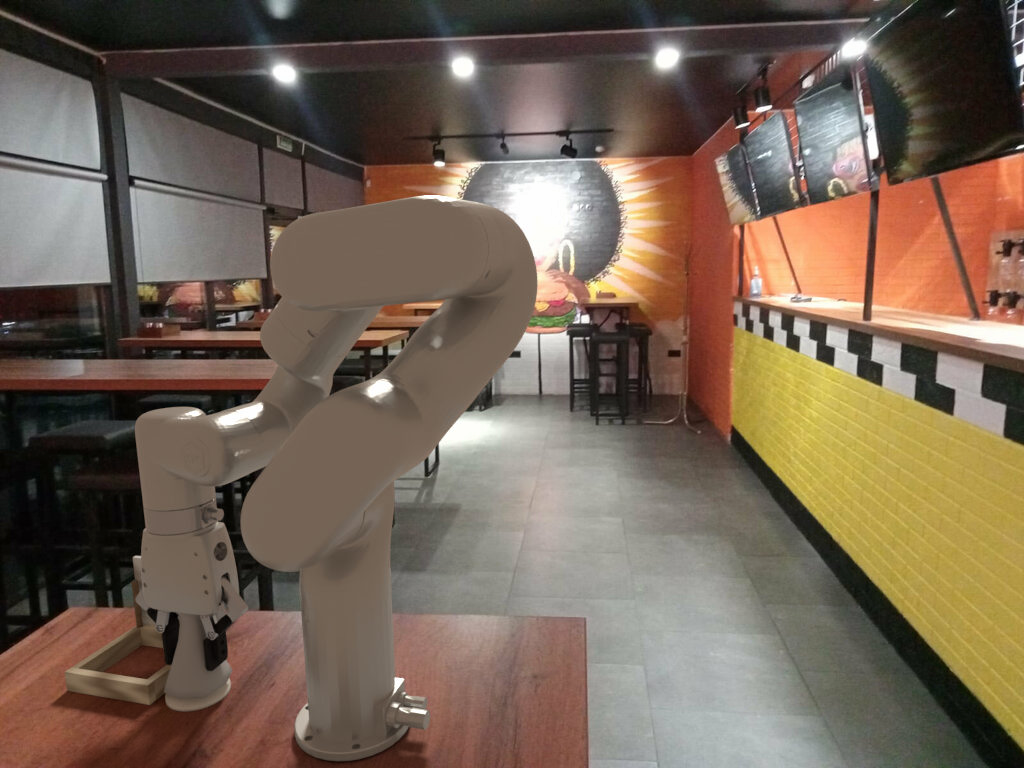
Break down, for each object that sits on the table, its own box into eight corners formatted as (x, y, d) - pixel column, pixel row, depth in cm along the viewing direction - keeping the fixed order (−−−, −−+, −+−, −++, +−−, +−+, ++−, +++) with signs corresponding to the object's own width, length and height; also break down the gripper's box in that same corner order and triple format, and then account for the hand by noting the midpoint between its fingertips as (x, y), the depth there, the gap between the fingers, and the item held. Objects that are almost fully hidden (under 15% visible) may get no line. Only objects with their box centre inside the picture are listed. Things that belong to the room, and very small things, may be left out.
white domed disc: (243, 680, 88) (243, 676, 88) (204, 715, 82) (204, 711, 81) (193, 672, 90) (193, 668, 90) (151, 706, 83) (151, 702, 83)
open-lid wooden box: (220, 648, 96) (212, 563, 94) (149, 704, 84) (139, 609, 82) (145, 637, 99) (135, 555, 97) (67, 690, 87) (54, 598, 85)
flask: (207, 704, 81) (199, 622, 80) (151, 698, 83) (142, 617, 81) (243, 669, 88) (236, 593, 87) (191, 663, 90) (183, 589, 88)
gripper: (266, 509, 83) (278, 653, 87) (144, 500, 88) (159, 637, 91) (224, 533, 76) (239, 689, 79) (94, 521, 81) (113, 670, 84)
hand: (196, 660), depth 85 cm, fingers closed on flask, 4 cm apart
